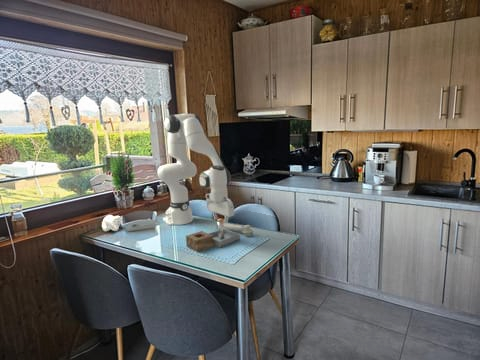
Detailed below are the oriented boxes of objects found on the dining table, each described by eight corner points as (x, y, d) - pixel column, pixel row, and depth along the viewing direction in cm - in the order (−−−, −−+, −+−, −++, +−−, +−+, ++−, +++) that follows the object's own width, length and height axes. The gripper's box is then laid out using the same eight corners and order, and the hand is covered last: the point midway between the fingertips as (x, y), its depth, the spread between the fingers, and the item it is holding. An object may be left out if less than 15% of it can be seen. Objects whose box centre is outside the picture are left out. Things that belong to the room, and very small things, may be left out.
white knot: (97, 233, 191) (95, 219, 189) (109, 226, 202) (107, 213, 201) (113, 233, 188) (112, 219, 187) (124, 227, 200) (123, 213, 198)
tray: (203, 240, 171) (203, 234, 171) (223, 234, 180) (223, 228, 180) (219, 247, 161) (219, 241, 160) (239, 240, 170) (239, 234, 169)
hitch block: (186, 246, 164) (185, 235, 163) (202, 241, 171) (201, 230, 170) (197, 252, 157) (196, 240, 156) (213, 246, 163) (212, 235, 162)
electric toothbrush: (221, 221, 192) (253, 222, 176) (222, 231, 192) (255, 234, 177) (215, 223, 188) (248, 225, 172) (216, 234, 188) (249, 237, 173)
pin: (217, 238, 171) (216, 219, 168) (222, 237, 173) (221, 217, 170) (221, 240, 168) (220, 220, 166) (225, 238, 170) (224, 219, 168)
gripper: (236, 198, 160) (237, 224, 163) (213, 192, 175) (214, 216, 178) (227, 200, 156) (228, 227, 159) (203, 194, 171) (205, 218, 174)
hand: (220, 221), depth 169 cm, fingers open, 7 cm apart
